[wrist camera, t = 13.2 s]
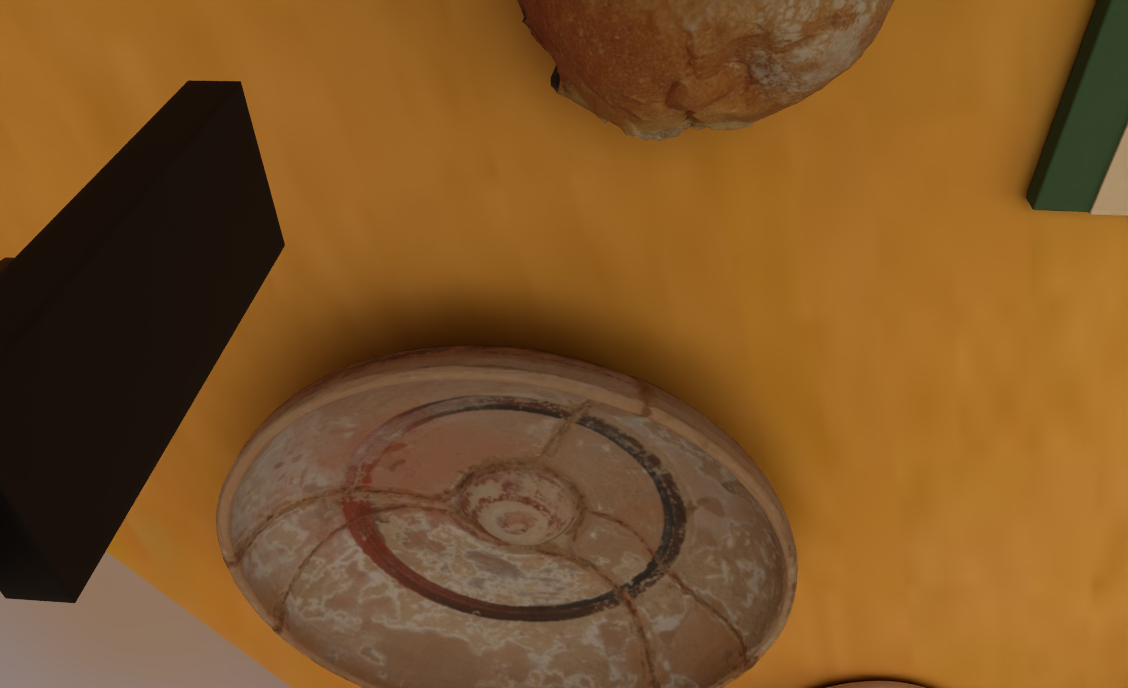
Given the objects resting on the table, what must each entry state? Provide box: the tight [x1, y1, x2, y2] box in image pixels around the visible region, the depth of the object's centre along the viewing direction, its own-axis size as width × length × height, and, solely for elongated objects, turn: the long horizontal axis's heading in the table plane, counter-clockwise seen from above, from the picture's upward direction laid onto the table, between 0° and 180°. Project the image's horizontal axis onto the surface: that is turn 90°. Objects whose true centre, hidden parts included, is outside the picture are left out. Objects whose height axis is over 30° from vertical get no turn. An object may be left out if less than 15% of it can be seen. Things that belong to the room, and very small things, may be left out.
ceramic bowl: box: [216, 345, 797, 688], centre depth 38 cm, size 23×24×5 cm
